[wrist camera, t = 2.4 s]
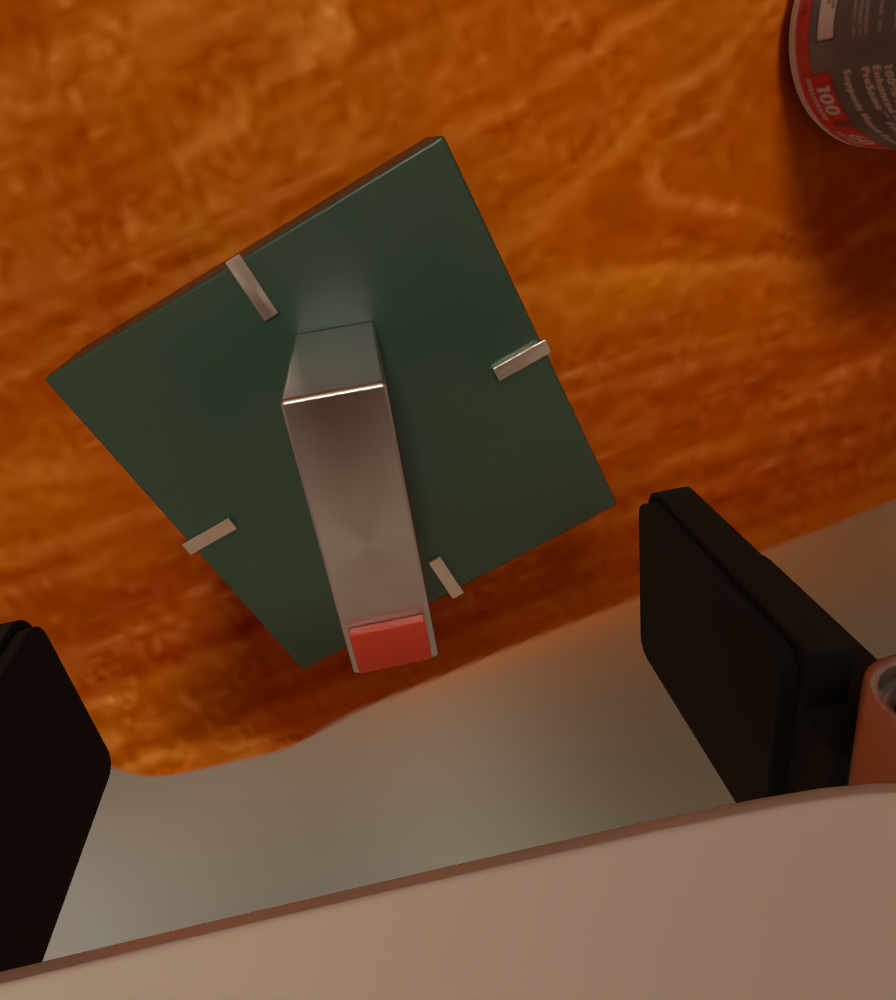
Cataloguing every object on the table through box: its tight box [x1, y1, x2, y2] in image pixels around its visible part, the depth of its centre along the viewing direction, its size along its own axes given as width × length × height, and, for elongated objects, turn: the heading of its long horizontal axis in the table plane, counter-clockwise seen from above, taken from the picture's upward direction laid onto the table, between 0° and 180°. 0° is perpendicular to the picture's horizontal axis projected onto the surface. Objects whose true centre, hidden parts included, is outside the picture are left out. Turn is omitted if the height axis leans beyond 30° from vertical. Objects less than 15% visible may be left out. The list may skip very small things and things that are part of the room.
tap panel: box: [46, 136, 616, 669], centre depth 18 cm, size 10×10×3 cm
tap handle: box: [280, 322, 438, 674], centre depth 15 cm, size 6×2×5 cm, turn 8°
